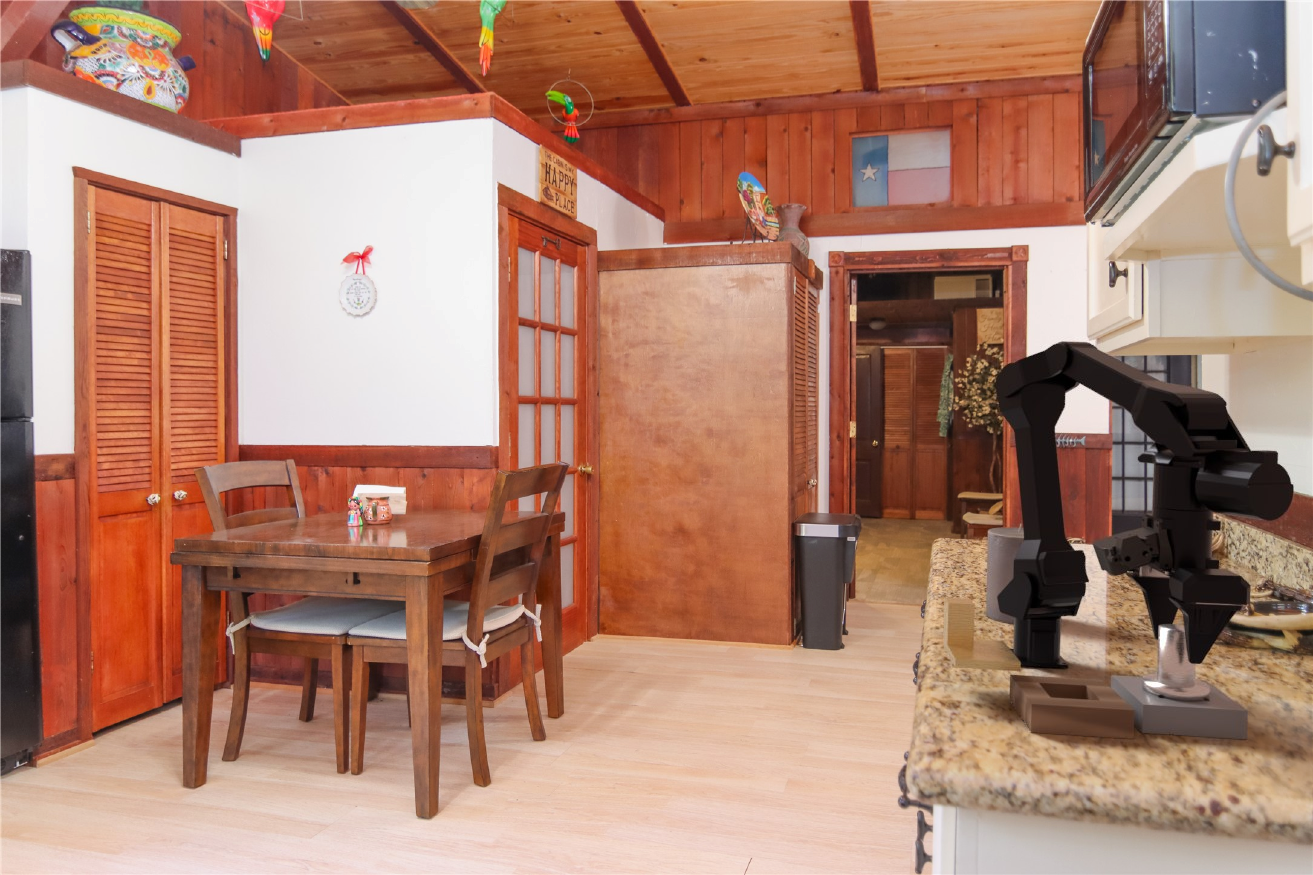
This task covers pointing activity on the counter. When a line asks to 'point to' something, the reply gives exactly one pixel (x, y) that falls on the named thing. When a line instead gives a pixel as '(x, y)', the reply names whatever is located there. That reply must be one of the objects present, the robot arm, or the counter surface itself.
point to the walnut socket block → (1071, 706)
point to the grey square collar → (1182, 712)
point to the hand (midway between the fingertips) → (1176, 650)
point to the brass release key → (972, 640)
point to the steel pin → (1174, 669)
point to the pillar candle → (1001, 566)
